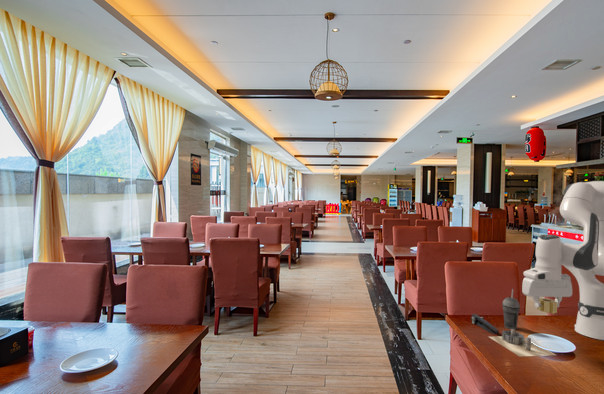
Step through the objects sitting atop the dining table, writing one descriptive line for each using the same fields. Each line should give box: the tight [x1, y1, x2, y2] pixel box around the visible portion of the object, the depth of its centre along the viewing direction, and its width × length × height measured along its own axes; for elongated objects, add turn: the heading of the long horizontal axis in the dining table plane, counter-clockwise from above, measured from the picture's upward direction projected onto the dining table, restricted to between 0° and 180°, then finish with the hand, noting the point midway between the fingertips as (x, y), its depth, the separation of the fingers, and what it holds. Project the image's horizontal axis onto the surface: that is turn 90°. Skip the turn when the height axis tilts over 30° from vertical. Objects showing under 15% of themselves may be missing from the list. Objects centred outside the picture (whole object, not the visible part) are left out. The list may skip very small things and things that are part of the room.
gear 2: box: [536, 297, 558, 314], centre depth 136 cm, size 7×7×4 cm
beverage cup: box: [501, 288, 521, 331], centre depth 155 cm, size 7×7×20 cm
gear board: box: [488, 329, 557, 357], centre depth 136 cm, size 16×18×6 cm
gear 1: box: [501, 329, 526, 345], centre depth 141 cm, size 8×8×3 cm
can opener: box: [470, 313, 500, 336], centre depth 155 cm, size 18×7×6 cm, turn 3°
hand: (546, 306), depth 136 cm, fingers closed on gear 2, 7 cm apart
